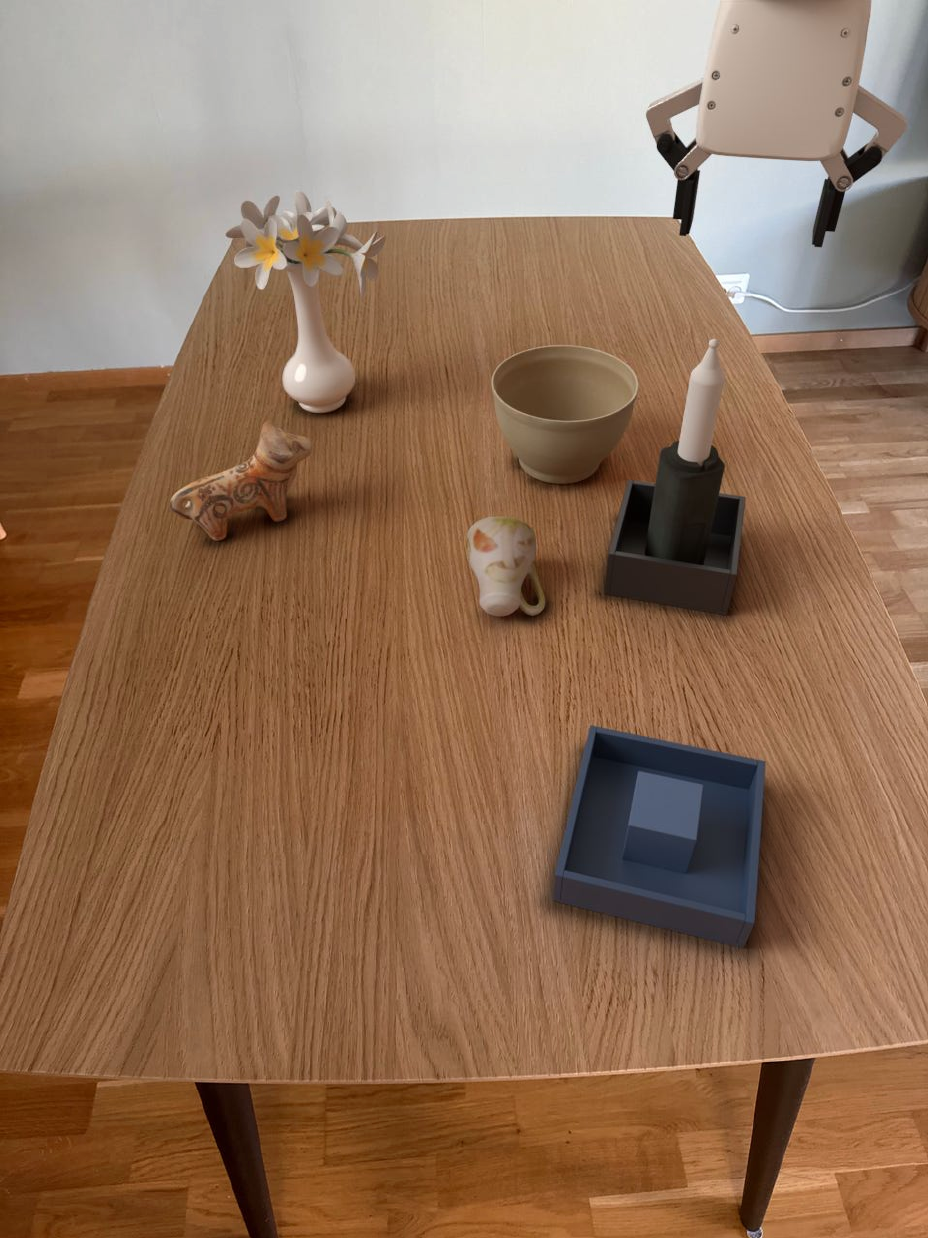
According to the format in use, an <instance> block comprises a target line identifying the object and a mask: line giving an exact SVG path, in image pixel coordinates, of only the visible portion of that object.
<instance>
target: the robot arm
mask: <svg viewBox="0 0 928 1238" xmlns="http://www.w3.org/2000/svg"><path fill="white" fill-rule="evenodd" d="M871 10H872V0H720V1H719V5H718V9H717V13H716V16H715V20H714V24H713V28H712V32H711V37H710V43H709V48H708V52H707V58H706V63H705V68H704V73H703V77H702V78H700V79H697V80H695V81H693V82H691V83H689V84H687V85H685V86H683V87H681V88H679V89H677V90H675V91H673V92H671V93H668V94H667V95H664V96H663V97H661V98H659V99H656V100H654V101H652V102H651V103H650V104H649V106H648V108H647V109H646V112H645V118H646V121H647V123H648V126H649V129H650V132H651V134H652V138H653V139H654V141H655V144H656V151H657V152H658V153H659V155H660V156H661V157H662V158H663V159H664V161H665V162H666V163H667V164H668V166H669V167H670V168H671V170H672V171H673V176H674V177H675V179H677V181H676V182H677V183H676V189H675V198H674V204H673V205H674V206H673V213H672V220H678V221H679V220H680V227H679V234H678V236H679V237H680V236H682V237H687V235H690V233H691V229H692V225H693V221H694V216H695V208H696V202H697V195H698V189H699V181H700V174H701V170H700V169H699V168H700V167H701V166H702V165H703V164H704V162H706V161H707V160H708V159H709V158H710V157H711V156H712V155H715V156H716V155H717V156H722V157H723V156H724V157H735V158H736V157H737V158H749V159H750V158H751V159H765V160H782V161H798V162H799V161H800V162H801V161H802V162H820V163H821V166H822V167H823V169H824V171H825V172H826V174H827V178H824V182H823V186H822V189H821V193H820V197H819V198H820V199H819V202H818V206H817V210H816V215H815V219H814V224H813V227H812V235H811V245H812V246H813V247H814V248H823V245H824V240H825V236H826V232H829V233H831V232H832V233H835V232H836V230H837V226H838V222H839V218H840V215H841V210H842V206H843V203H844V199H845V195H846V192H847V191H848V190H850V189H851V188H852V186H853V184H855V182H857V181H858V180H860V179H861V178H863V177H864V176H865V175H867V174H868V173H869V172H871V171H872V170H873V169H875V168H876V167H877V166H879V165H880V164H881V162H882V160H883V158H884V157H885V155H887V153H889V152H890V150H891V149H892V148H893V147H894V145H895V144H896V143H897V142H898V141H899V139H900V138H901V137H902V136H903V135H904V134H905V131H906V130H907V119H906V117H905V115H904V114H902V113H901V112H899V111H898V110H897V109H895V108H894V107H891V106H890V105H889V104H888V103H886V102H885V101H883V100H881V98H879V97H878V96H876V95H875V94H873V93H871V92H870V91H868V90H867V89H866V88H864V87H863V86H861V85H860V81H861V75H862V70H863V66H864V59H865V52H866V48H867V47H866V46H867V38H868V31H869V25H870V20H871V19H870V18H871ZM697 106H698V107H697ZM695 107H697V116H696V124H695V138H693V140H692V141H691V142H690V143H689V144H688V145H687V146H686V145H685V143H683V141H682V140H681V138H680V137H679V136H678V134H677V133H676V132H675V131H674V129H673V126H672V122H671V119H672V118H673V117H675V116H678V115H679V114H683V113H684V112H686V111H688V110H690V109H692V108H695ZM854 114H855V115H856V116H858V117H859V118H860V119H862V120H863V121H865V122H866V123H867V124H869V125H871V126H872V127H873V128H875V129H876V132H875V134H874V135H873V136H872V138H871V140H870V141H869V142H868V143H865V145H863V146H862V147H861V148H859V149H858V150H857V151H855V152H854V153H852V154H851V155H850V156H849V155H848V153H847V152H846V150H845V148H844V146H845V143H846V141H847V138H848V134H849V130H850V128H851V127H850V126H851V123H852V118H853V116H854Z"/></svg>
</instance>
